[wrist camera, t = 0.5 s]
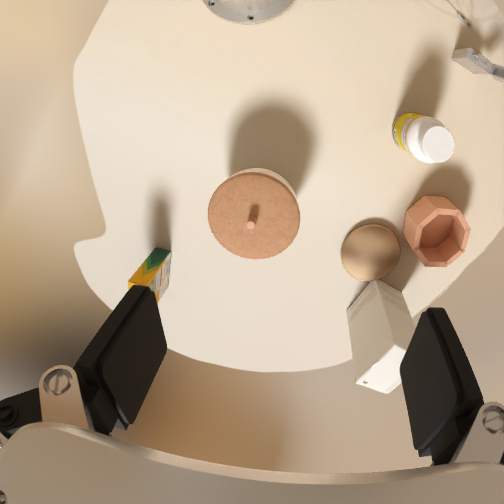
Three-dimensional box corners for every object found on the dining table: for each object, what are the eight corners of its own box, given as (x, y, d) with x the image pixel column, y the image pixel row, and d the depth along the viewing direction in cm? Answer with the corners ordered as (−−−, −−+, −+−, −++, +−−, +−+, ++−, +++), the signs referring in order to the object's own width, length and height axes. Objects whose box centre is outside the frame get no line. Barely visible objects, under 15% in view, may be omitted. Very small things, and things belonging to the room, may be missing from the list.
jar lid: (343, 222, 42) (344, 225, 41) (402, 225, 41) (404, 228, 40) (338, 276, 47) (338, 280, 46) (392, 277, 45) (394, 281, 44)
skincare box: (372, 324, 50) (386, 396, 37) (343, 309, 50) (351, 384, 36) (403, 290, 46) (429, 361, 33) (373, 273, 45) (395, 346, 32)
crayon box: (154, 246, 49) (121, 287, 39) (171, 251, 49) (141, 294, 39) (152, 281, 52) (123, 325, 42) (168, 286, 52) (141, 331, 42)
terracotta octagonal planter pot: (408, 193, 39) (420, 206, 34) (459, 198, 37) (474, 211, 33) (400, 248, 43) (409, 266, 38) (448, 250, 41) (460, 267, 37)
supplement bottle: (433, 126, 33) (468, 138, 25) (415, 158, 36) (445, 179, 28) (402, 103, 33) (431, 109, 24) (383, 137, 36) (407, 152, 27)
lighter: (451, 59, 28) (481, 56, 21) (454, 49, 27) (483, 44, 20) (489, 84, 28) (521, 88, 21) (492, 75, 27) (524, 77, 20)
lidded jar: (219, 159, 40) (198, 178, 32) (300, 159, 39) (300, 178, 31) (225, 231, 46) (208, 265, 38) (299, 233, 44) (298, 268, 36)
